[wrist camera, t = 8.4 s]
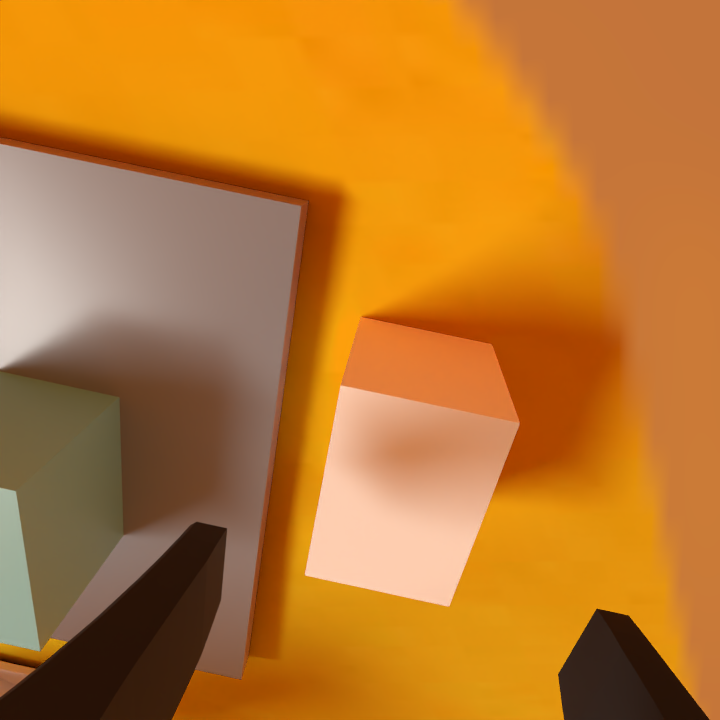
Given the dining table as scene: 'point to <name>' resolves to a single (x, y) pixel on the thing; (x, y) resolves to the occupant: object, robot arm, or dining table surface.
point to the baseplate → (159, 349)
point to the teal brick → (54, 501)
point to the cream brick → (410, 461)
